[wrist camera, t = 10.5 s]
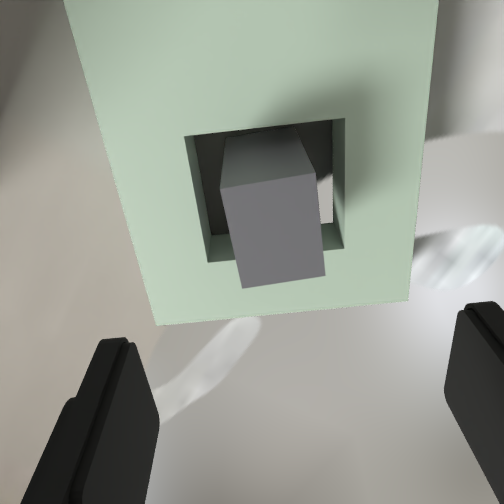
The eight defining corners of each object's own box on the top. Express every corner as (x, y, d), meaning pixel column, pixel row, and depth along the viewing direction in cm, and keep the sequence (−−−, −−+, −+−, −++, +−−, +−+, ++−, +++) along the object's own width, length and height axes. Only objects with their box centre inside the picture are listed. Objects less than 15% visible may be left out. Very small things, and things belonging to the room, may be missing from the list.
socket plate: (54, -129, 16) (18, -157, 13) (424, -180, 15) (461, -218, 13) (164, 294, 26) (156, 325, 23) (390, 271, 25) (407, 301, 23)
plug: (225, 138, 21) (219, 189, 15) (293, 125, 21) (315, 172, 15) (241, 216, 23) (242, 288, 17) (303, 206, 23) (325, 276, 17)
